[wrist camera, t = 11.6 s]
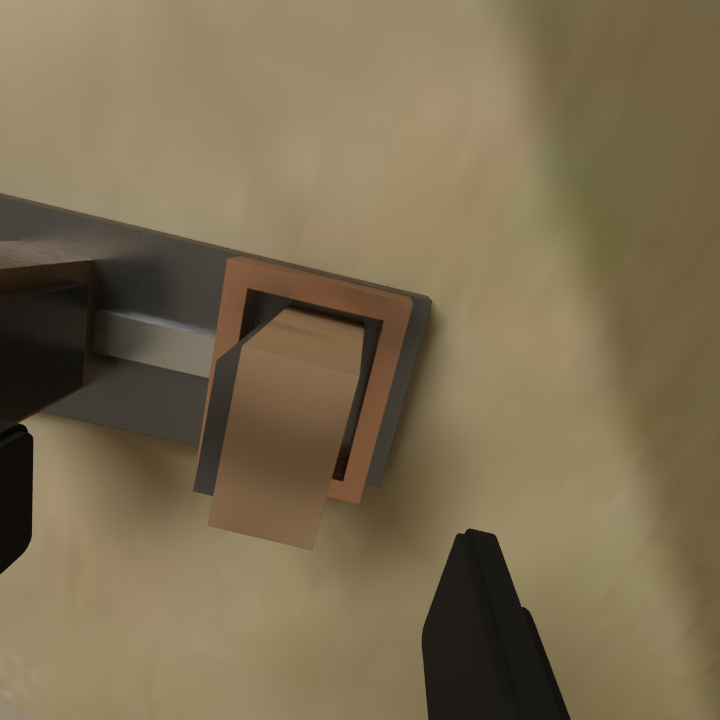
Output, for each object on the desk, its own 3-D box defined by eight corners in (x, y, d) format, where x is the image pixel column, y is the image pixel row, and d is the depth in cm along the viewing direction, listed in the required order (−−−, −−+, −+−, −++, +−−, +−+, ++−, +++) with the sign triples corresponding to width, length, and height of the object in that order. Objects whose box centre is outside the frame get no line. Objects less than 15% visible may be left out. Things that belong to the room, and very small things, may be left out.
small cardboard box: (332, 443, 23) (312, 550, 15) (247, 422, 23) (183, 520, 15) (364, 323, 21) (359, 376, 14) (273, 300, 21) (215, 339, 13)
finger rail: (428, 296, 22) (465, 341, 13) (379, 472, 25) (382, 610, 16) (-20, 188, 22) (-309, 156, 12) (-21, 382, 24) (-258, 473, 15)
